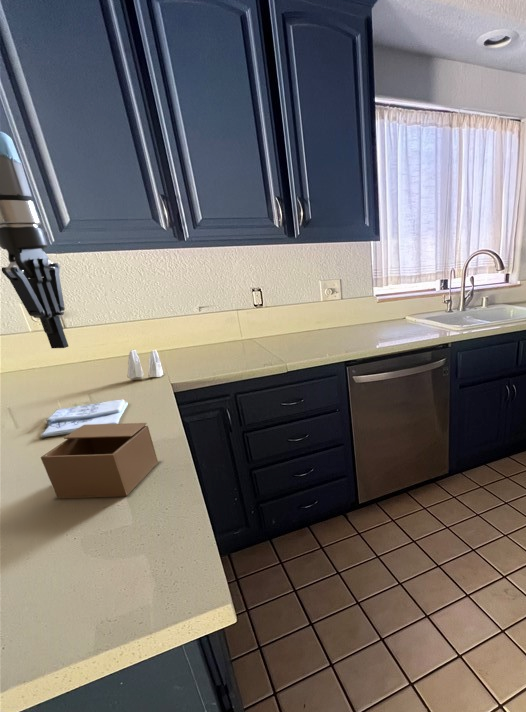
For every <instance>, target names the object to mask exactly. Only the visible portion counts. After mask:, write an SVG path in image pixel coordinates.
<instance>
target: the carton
mask: <svg viewBox="0 0 526 712" xmlns="http://www.w3.org/2000/svg"><path fill="white" fill-rule="evenodd" d="M109 453H113V454H109ZM157 456H158V455H157V452H156V450H155V446H154V442H153V438H152V435H151V432H150V429H149V426H148V425H145V426H144V427H143V428H141V429H140V430H139V431H138V432H136V433H135V434H134V435H133V436H132V437H111V438H78V439H65V440H64V441H63V442H61V443H59V444H58V445H57V446H55V447H54V448H52V449H51V450H49V451H48V452H46V453H45V454H43V455H42V456H41V457H40V459H41V462H42V464H43V467H44V469H45V472H46V474H47V476H48V479H49V481H50V484H51V486H52V489H53V491H54V493H55V496H56V499H79V498H80V499H81V498H85V499H86V498H117V497H127V496H129V495H130V494H131V492H132V491H133V490H135V488H136V487H138V485H139V484H140V483H141V482H142V481H143V479H144V478H146V477H147V475H148V474H149V473H151V471H152V470H153V469H154V468H155V467H156V466H157V465H158V464H159V460H158V457H157Z"/></svg>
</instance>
